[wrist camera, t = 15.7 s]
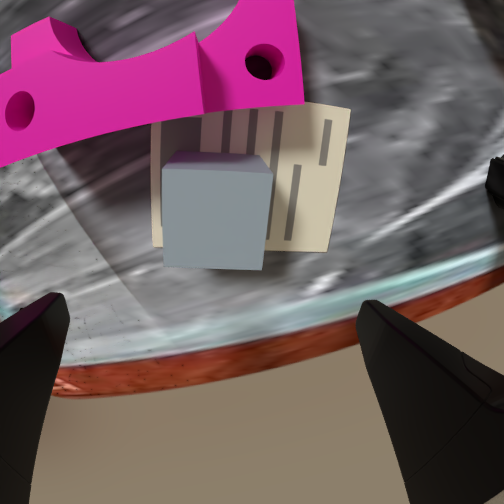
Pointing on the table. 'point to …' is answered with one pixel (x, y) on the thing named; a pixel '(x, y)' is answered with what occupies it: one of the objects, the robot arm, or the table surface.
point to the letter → (268, 164)
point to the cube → (215, 210)
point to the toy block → (142, 79)
